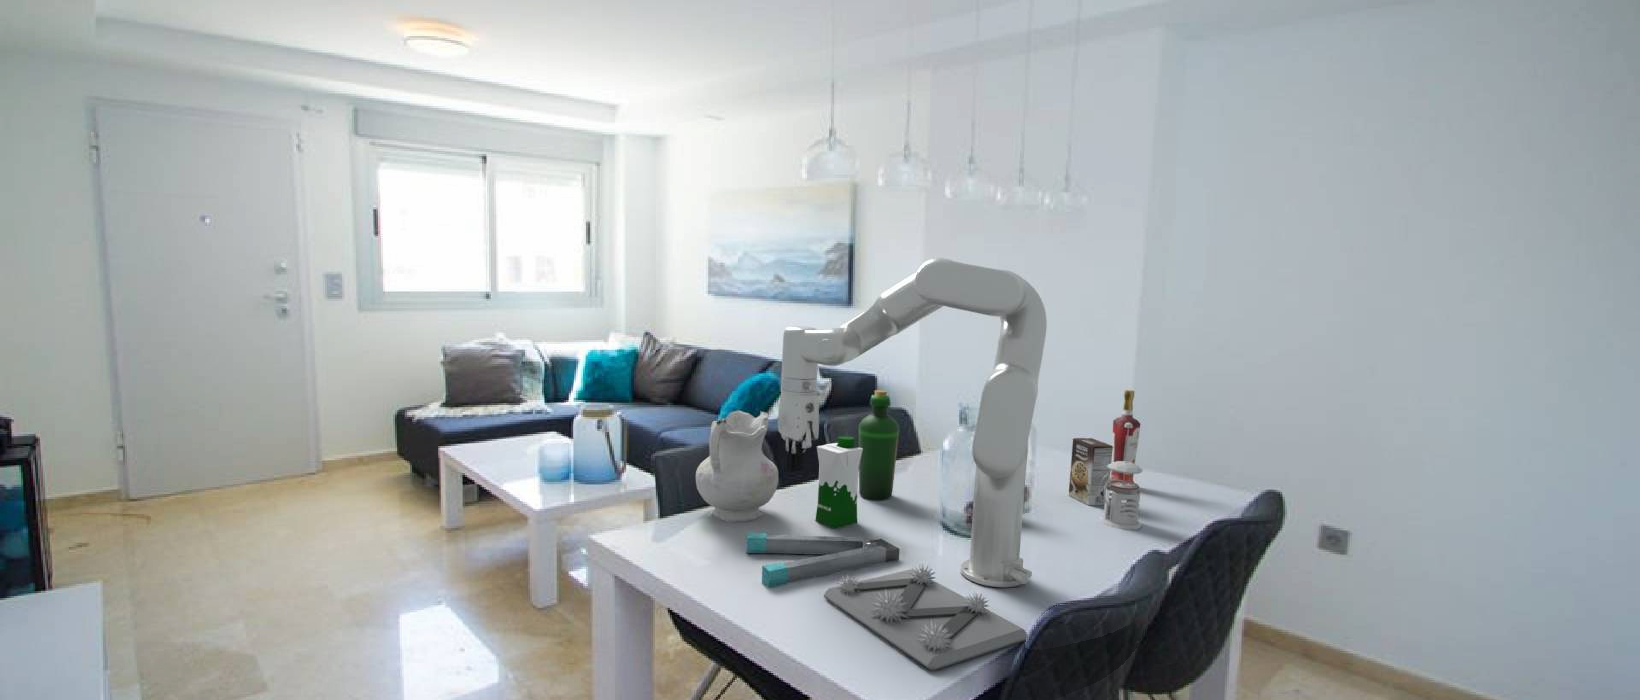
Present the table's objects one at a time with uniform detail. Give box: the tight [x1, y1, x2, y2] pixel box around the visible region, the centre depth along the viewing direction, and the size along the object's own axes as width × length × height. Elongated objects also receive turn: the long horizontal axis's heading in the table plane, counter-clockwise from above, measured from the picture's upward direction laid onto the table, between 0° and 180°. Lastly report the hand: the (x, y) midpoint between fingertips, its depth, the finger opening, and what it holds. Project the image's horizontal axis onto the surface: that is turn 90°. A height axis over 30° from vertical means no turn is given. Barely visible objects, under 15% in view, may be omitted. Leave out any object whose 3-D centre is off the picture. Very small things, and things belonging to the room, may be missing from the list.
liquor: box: [1110, 389, 1141, 483], centre depth 219 cm, size 7×7×28 cm
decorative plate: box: [823, 563, 1028, 672], centre depth 130 cm, size 30×22×7 cm
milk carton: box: [815, 435, 863, 530], centre depth 177 cm, size 9×9×20 cm
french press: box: [1099, 423, 1144, 530], centre depth 185 cm, size 10×12×25 cm
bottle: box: [858, 389, 900, 501], centre depth 199 cm, size 11×11×28 cm
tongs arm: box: [745, 532, 877, 555], centre depth 157 cm, size 27×5×3 cm, turn 92°
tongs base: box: [761, 538, 900, 589], centre depth 151 cm, size 30×7×3 cm, turn 122°
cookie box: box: [1068, 437, 1113, 506], centre depth 204 cm, size 9×6×16 cm
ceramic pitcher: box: [695, 410, 779, 523], centre depth 179 cm, size 22×20×25 cm
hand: (794, 470), depth 162 cm, fingers closed
